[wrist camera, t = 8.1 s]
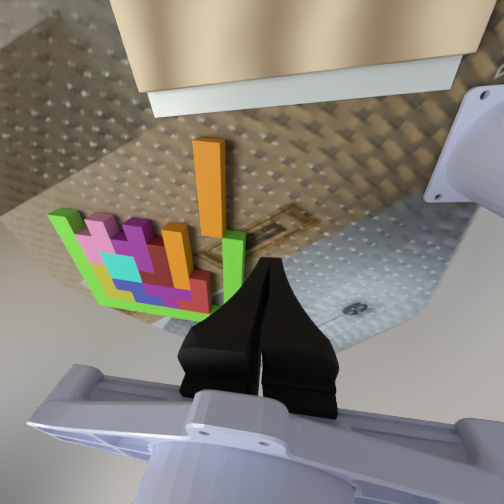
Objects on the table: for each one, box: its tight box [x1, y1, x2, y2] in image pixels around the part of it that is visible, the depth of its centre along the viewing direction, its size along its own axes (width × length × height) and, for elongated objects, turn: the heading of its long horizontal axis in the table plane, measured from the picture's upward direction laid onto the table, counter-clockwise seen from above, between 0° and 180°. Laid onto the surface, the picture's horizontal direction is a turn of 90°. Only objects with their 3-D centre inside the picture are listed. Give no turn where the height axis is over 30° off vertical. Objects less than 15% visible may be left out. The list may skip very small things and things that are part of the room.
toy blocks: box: [47, 137, 246, 322], centre depth 26 cm, size 23×2×25 cm
